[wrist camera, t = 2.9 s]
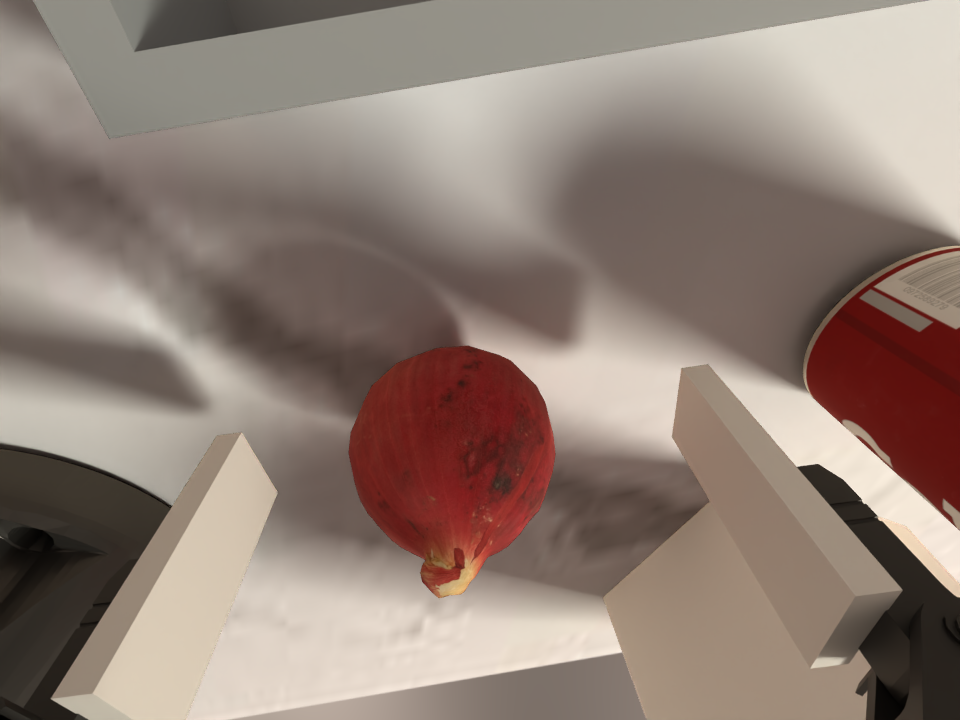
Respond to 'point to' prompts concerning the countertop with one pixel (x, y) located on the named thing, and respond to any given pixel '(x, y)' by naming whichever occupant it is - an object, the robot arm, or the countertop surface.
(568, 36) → the tote
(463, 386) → the onion
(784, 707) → the milk
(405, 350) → the countertop surface
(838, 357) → the soda can
